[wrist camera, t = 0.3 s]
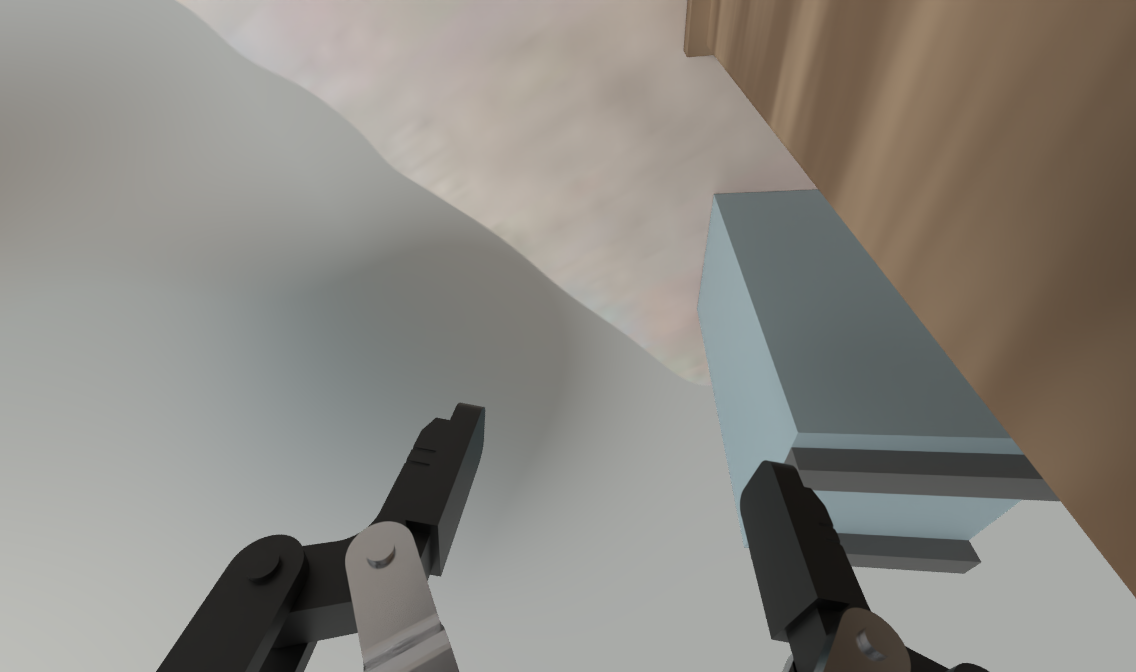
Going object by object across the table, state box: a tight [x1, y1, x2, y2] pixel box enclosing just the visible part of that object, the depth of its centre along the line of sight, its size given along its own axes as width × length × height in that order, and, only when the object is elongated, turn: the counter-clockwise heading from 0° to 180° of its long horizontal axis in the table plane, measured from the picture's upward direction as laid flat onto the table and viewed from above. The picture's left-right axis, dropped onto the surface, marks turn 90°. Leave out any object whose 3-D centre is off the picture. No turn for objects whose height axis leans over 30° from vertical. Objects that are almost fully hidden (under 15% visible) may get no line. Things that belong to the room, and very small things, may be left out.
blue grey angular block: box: [697, 190, 1060, 574], centre depth 27 cm, size 10×11×22 cm
